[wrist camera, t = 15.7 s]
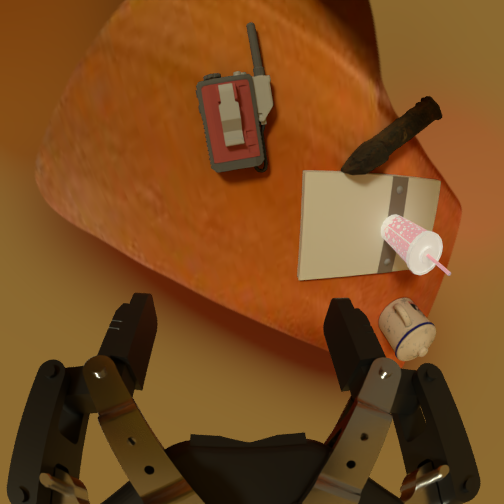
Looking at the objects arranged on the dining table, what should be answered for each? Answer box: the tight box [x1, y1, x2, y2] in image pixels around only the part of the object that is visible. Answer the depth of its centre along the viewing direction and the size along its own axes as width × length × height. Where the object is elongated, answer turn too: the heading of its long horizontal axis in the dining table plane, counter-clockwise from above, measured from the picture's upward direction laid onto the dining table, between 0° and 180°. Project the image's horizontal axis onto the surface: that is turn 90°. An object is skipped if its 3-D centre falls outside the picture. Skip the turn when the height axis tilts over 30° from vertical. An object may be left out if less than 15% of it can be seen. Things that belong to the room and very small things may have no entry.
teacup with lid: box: [379, 298, 436, 361], centre depth 42 cm, size 12×9×12 cm
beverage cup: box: [381, 214, 451, 276], centre depth 31 cm, size 6×6×14 cm
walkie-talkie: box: [196, 23, 273, 172], centre depth 27 cm, size 9×4×20 cm
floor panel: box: [297, 170, 441, 280], centre depth 38 cm, size 16×24×2 cm, turn 91°
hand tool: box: [341, 96, 442, 175], centre depth 30 cm, size 19×4×5 cm, turn 126°
